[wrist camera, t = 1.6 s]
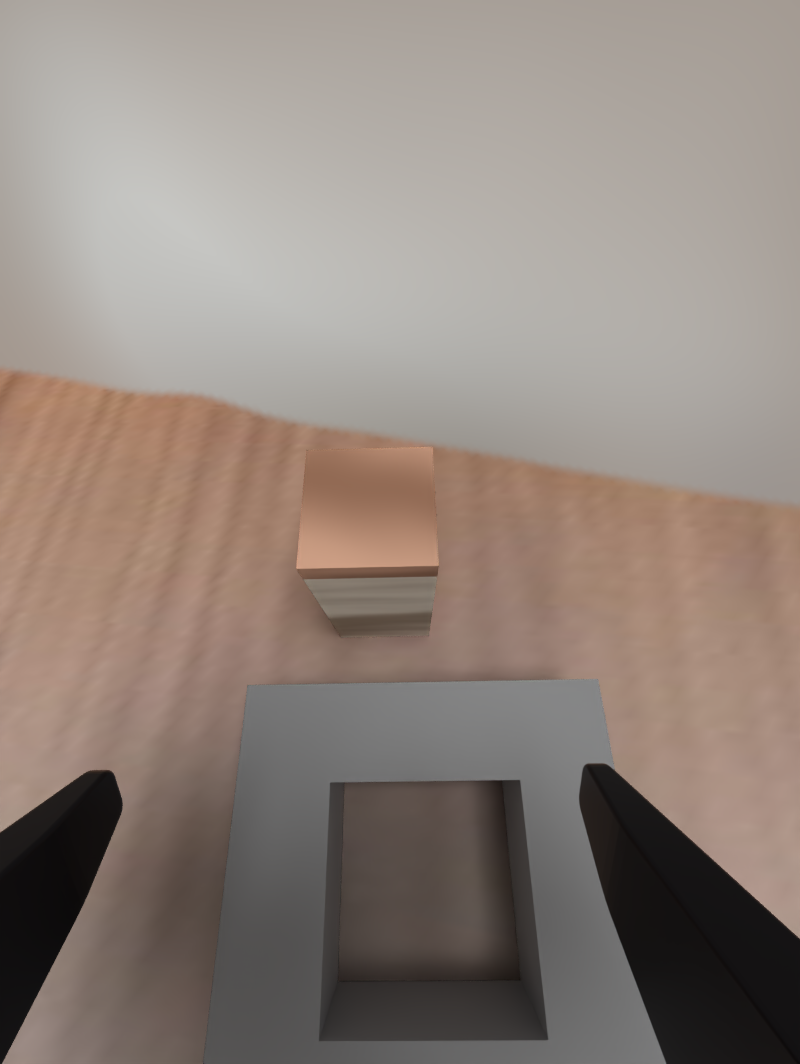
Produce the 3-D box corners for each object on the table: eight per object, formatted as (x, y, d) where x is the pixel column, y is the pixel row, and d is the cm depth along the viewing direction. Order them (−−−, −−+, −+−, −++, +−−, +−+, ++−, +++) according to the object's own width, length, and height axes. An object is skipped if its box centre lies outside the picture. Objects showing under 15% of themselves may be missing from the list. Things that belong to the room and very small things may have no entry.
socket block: (633, 1111, 16) (697, 1216, 13) (235, 1111, 16) (185, 1215, 13) (567, 690, 22) (598, 679, 18) (274, 695, 22) (247, 685, 19)
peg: (428, 636, 23) (438, 565, 14) (341, 637, 23) (296, 568, 14) (425, 554, 25) (432, 446, 16) (344, 556, 25) (306, 450, 16)
